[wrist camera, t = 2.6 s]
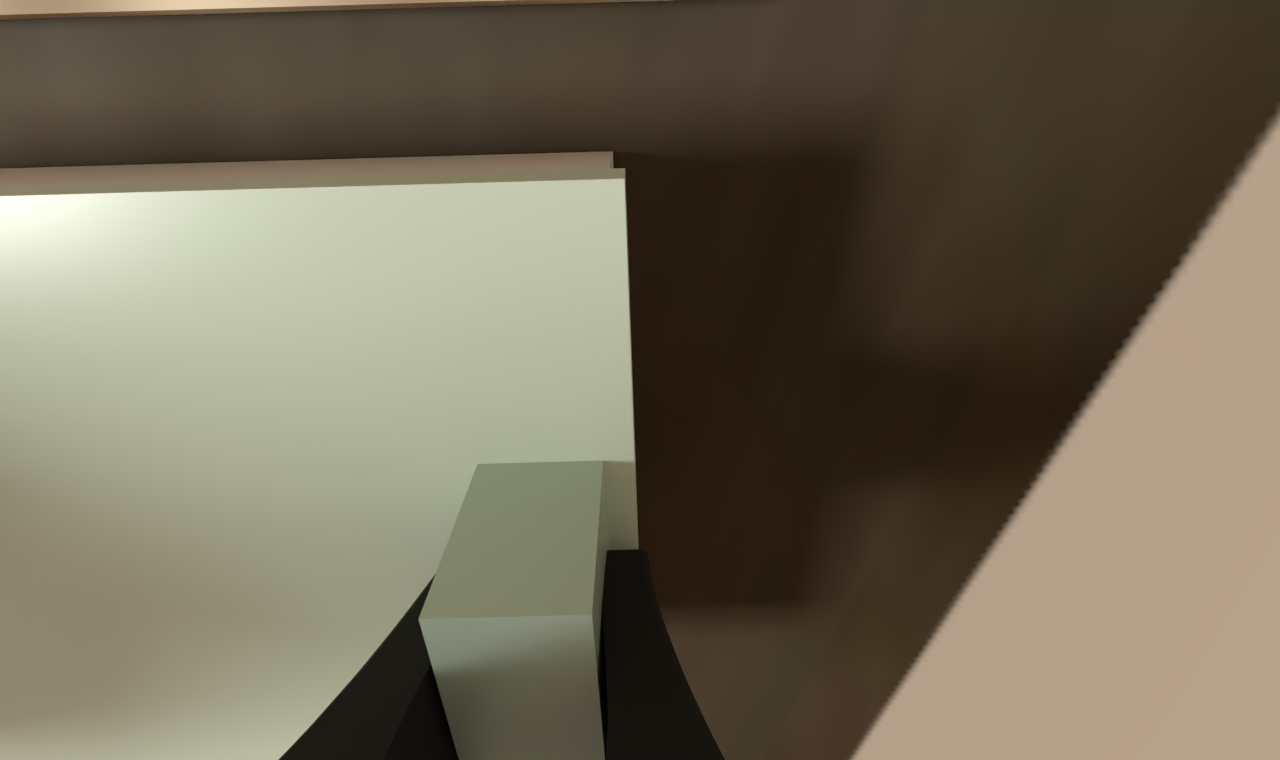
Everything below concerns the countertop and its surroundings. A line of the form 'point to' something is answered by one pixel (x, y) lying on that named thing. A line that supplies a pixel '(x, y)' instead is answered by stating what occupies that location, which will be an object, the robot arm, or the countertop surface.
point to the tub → (306, 168)
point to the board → (230, 6)
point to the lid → (310, 456)
